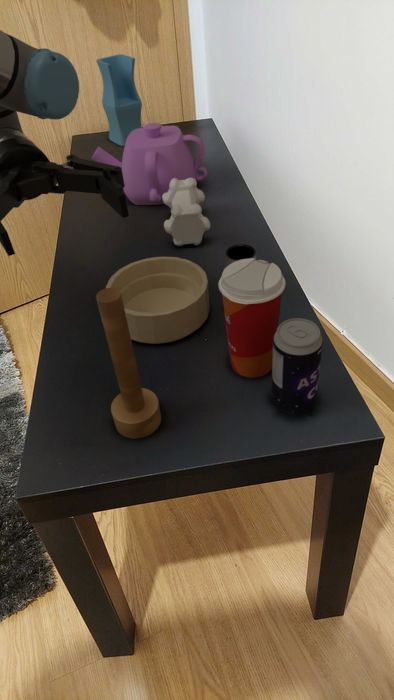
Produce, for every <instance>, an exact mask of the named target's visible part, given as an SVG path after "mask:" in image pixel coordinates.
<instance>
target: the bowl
mask: <svg viewBox="0 0 394 700" xmlns="http://www.w3.org/2000/svg"><path fill="white" fill-rule="evenodd" d="M105 288H117V289H119V290H120V292H121V295H122V300H123V304H124V309H125V314H126V318H127V323H128V327H129V332H130V337H131V341H136V342H138V343H142V344H151V345H152V344H153V345H156V344H157V345H159V344H168V343H172V342H176V341H179V340H182V339H183V338H185V337H188V336H189V335H191V334H193V333H194V332H195V331H197V330H198V329H200V328H201V327H202V325H203V324H204V323H205V322H206V321H207V319H208V317H209V314H210V309H211V303H210V291H209V290H210V289H209V281H208V276H207V273H206V271H205V270H204V269H203V268H202V267H201V266H200V265H198V264H197V263H195V262H193V261H191V260H189V259H185V258H181V257H178V256H154V257H146V258H142V259H140V260H137V261H134V262H130V263H129V264H127V265H125V266H123V267H121V268H120V269H118V270H117V271H116V272H114V274H112V275H111V277H110V278H109V280H108V282H107V284H106V286H105Z"/></svg>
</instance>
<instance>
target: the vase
mask: <svg viewBox="0 0 394 700" xmlns="http://www.w3.org/2000/svg"><path fill="white" fill-rule="evenodd" d="M95 61H96V64H97V66H98V69H99V72H100V75H101V79H102V86H103V89H102V99H101V104H102V105H101V106H102V108H103V111H104V113H105V116H106V119H107V122H108V140H109V141H111V142H113V143H115V144H116V145H118V146H120V147H125V143H126V139H127V137H128V136H129V134H130V133H131V132H132V131H133V130H135V129H137V128H143V127H142V107H143V103H142V99H141V97H140V95H139V93H138V90H137V87H136V83H135V64H136V58H135V57H132V56H129V55H126V54H121V53H120V54H119V53H118V54H114V55H110V56H105V57H100V58H97V59H96V60H95Z"/></svg>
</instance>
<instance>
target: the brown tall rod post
mask: <svg viewBox="0 0 394 700" xmlns="http://www.w3.org/2000/svg"><path fill="white" fill-rule="evenodd" d="M95 299H96V303H97V307H98V311H99V314H100V319H101V322H102V327H103V331H104V334H105V338H106V342H107V345H108V349H109V354H110V358H111V361H112V365H113V369H114V373H115V376H116V380H117V384H118V389H119V394H117V395H116V396H115V398H114V399H113V400H112V402H111V405H110V412H111V416H112V420H113V423H114V426H115V429H116V431H117V432H118V433H119V434H120V435H121V436H123V437H125V438H128V439H132V440H133V439H134V440H135V439H136V440H137V439H142V438H145V437H148V436H150V435H151V434H152V435H153V433H154V432H155V431H156V430H158V428H159V426H160V425H161V423H162V413H161V408H160V407H161V406H160V402H159V399H158V396H157V395H156V393H155V392H153V391H152V390H150V389H148V388H145V387H142V384H141V379H140V374H139V370H138V365H137V359H136V355H135V350H134V347H133V340H132V339H131V337H130V332H129V327H128V323H127V318H126V314H125V309H124V304H123V300H122V295H121V292H120V290H119V289H117V288H106V287H105V288H103V289H100V290H99V291H98V292H97V293H96V295H95Z"/></svg>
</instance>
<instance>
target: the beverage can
mask: <svg viewBox="0 0 394 700" xmlns="http://www.w3.org/2000/svg"><path fill="white" fill-rule="evenodd" d="M323 345H324V339H323V336H322V334H321V329H320V327H319V326H318V325H317V324H316V323H315V322H314V321H312V320H309V319H306V318H298V317H293V318H289V319H285V320H284V321H282V322H281V323H279V324H278V328H277V332H276V333H275V335H274V337H273V361H272V369H271V402H272V403H273V405H274V406H275V407H276V408H277V409H278V410H280V412H283V413H286V414H289V415H301V414H305V413H307V412H309V411H310V410H312V409H313V408H314V406H315V405H316V403H317V399H318V388H319V379H320V372H321V371H320V370H321V362H322V355H323V347H324V346H323Z"/></svg>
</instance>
